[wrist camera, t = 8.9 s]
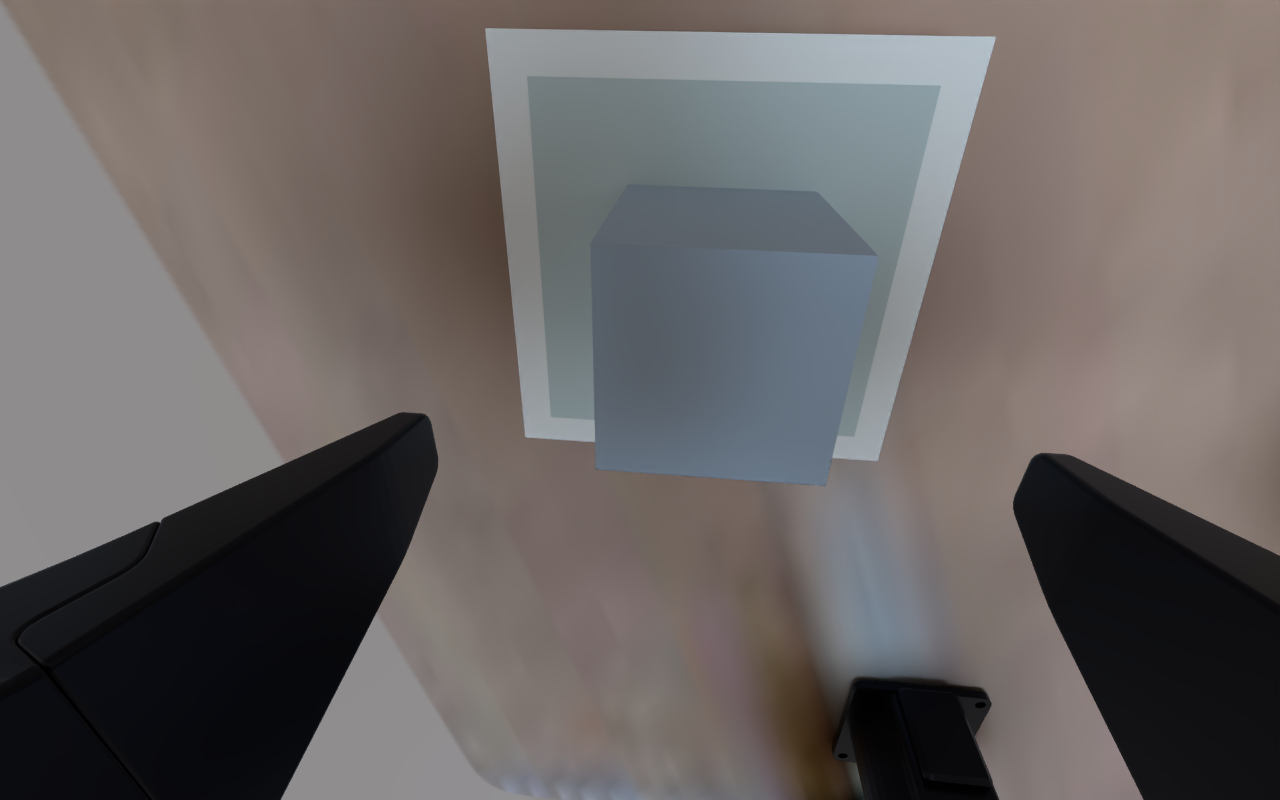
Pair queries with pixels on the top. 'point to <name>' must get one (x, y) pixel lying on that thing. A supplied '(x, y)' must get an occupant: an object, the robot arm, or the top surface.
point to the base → (722, 173)
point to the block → (724, 332)
